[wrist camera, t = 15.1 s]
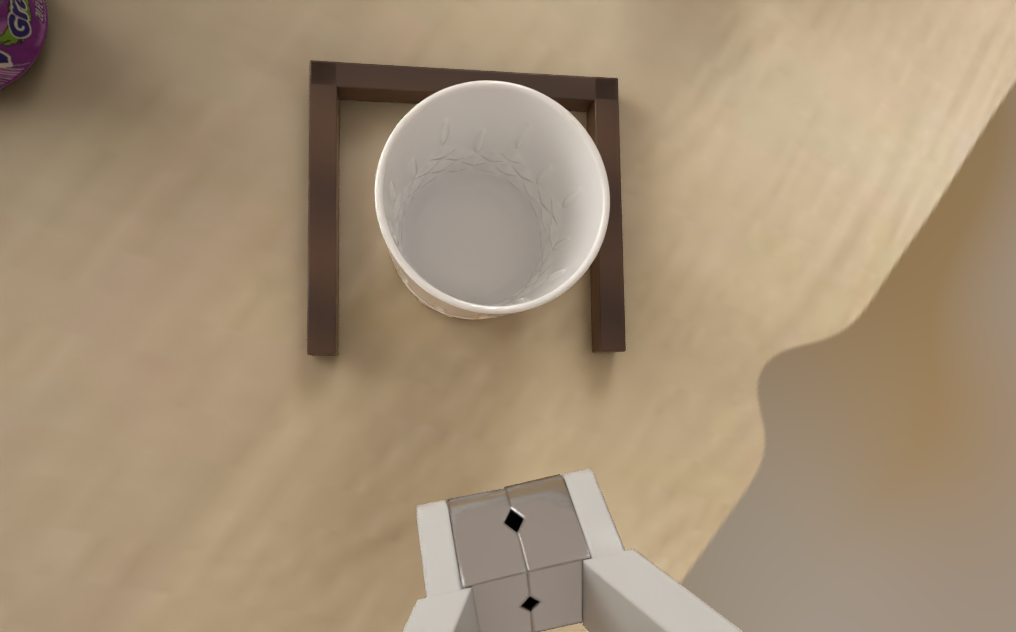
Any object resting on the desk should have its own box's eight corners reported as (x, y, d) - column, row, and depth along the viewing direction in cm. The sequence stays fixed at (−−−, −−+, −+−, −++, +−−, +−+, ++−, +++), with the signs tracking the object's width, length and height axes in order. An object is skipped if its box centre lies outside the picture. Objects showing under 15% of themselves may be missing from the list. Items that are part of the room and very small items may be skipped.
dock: (615, 352, 33) (626, 351, 31) (311, 355, 31) (307, 354, 29) (608, 90, 34) (618, 77, 32) (313, 74, 32) (309, 59, 30)
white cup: (572, 214, 33) (646, 147, 23) (505, 359, 32) (552, 354, 22) (427, 139, 32) (439, 38, 22) (352, 286, 31) (331, 247, 21)
